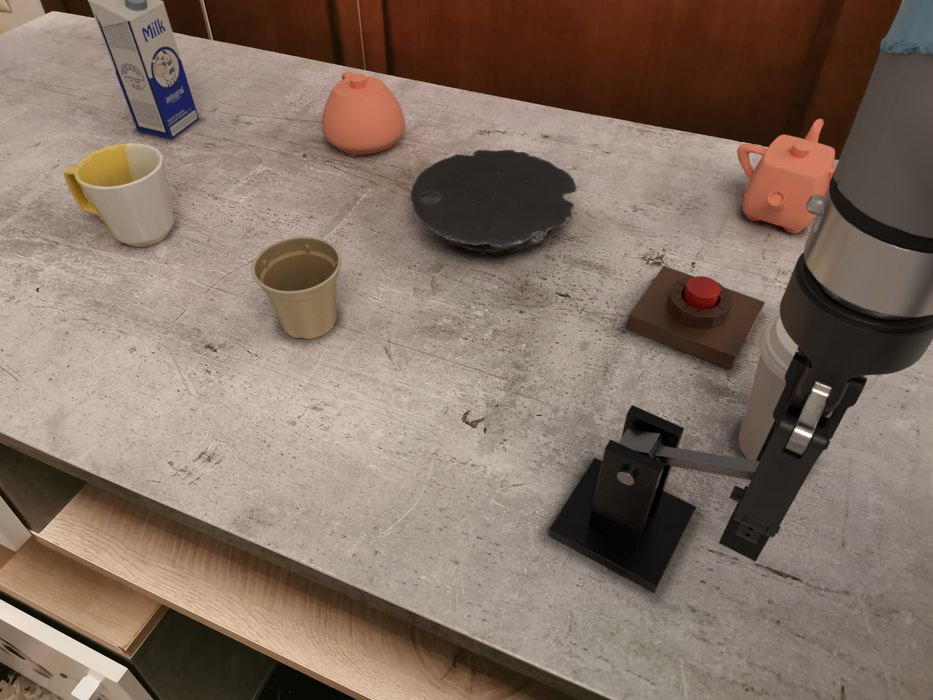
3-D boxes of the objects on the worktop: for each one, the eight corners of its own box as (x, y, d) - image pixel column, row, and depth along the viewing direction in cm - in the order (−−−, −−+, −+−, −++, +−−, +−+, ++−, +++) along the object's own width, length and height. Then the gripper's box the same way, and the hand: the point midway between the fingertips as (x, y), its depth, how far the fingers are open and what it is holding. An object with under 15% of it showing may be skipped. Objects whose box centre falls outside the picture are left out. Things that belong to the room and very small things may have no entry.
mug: (203, 223, 97) (180, 153, 89) (148, 267, 90) (117, 196, 83) (128, 197, 101) (99, 128, 94) (70, 237, 95) (34, 167, 87)
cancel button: (721, 295, 80) (725, 283, 79) (710, 314, 78) (714, 302, 77) (690, 283, 81) (693, 271, 80) (678, 302, 79) (681, 290, 78)
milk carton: (166, 110, 118) (122, -20, 103) (200, 118, 116) (160, -14, 102) (136, 131, 113) (86, -2, 99) (171, 140, 112) (124, 5, 97)
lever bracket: (694, 513, 65) (729, 425, 56) (654, 594, 60) (686, 512, 51) (593, 464, 69) (610, 374, 60) (547, 535, 64) (559, 449, 55)
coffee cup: (750, 496, 66) (802, 389, 56) (705, 416, 73) (745, 306, 62) (845, 478, 68) (915, 369, 57) (793, 400, 74) (847, 290, 63)
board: (378, 246, 93) (373, 213, 89) (457, 162, 106) (456, 130, 102) (536, 298, 85) (539, 264, 82) (600, 201, 99) (605, 168, 95)
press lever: (800, 457, 52) (795, 433, 51) (775, 520, 49) (769, 495, 47) (644, 434, 60) (637, 412, 59) (613, 486, 56) (604, 464, 55)
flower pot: (367, 310, 84) (358, 251, 78) (318, 362, 79) (304, 303, 73) (303, 284, 88) (289, 226, 81) (251, 333, 82) (232, 274, 76)
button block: (759, 315, 83) (769, 289, 80) (730, 371, 77) (740, 344, 74) (660, 279, 87) (666, 253, 85) (625, 328, 82) (631, 302, 79)
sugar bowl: (337, 170, 105) (327, 104, 98) (313, 125, 114) (301, 62, 107) (417, 151, 108) (412, 86, 101) (387, 109, 117) (381, 46, 110)
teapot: (847, 242, 92) (878, 172, 84) (755, 250, 91) (779, 180, 84) (799, 180, 102) (823, 113, 94) (716, 186, 101) (735, 119, 94)
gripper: (845, 166, 44) (745, 407, 61) (743, 361, 33) (655, 590, 50) (982, 204, 41) (837, 447, 58) (920, 431, 30) (764, 649, 47)
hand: (753, 513), depth 54 cm, fingers closed on press lever, 6 cm apart
